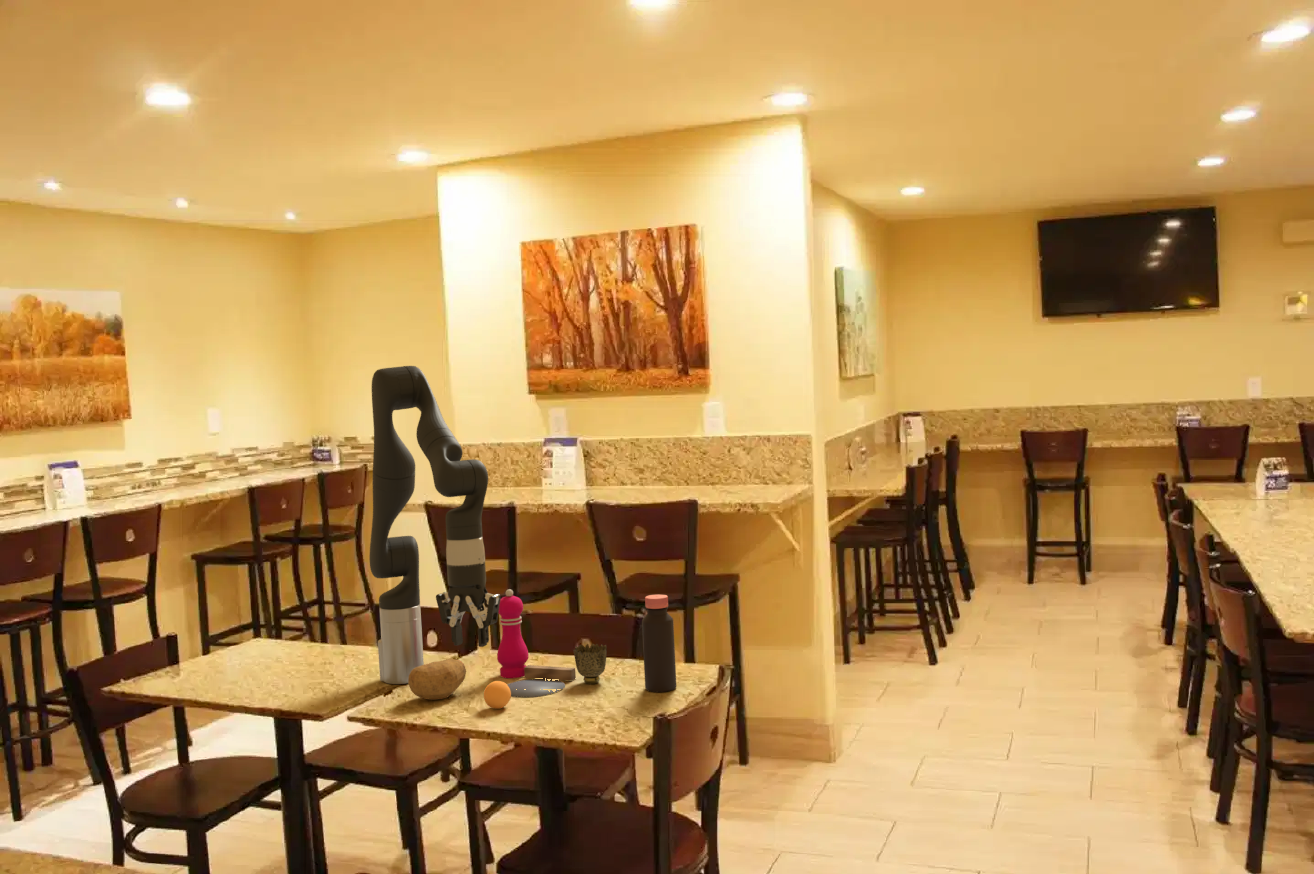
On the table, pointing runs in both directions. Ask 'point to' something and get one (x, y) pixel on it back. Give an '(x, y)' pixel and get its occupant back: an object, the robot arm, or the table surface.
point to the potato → (437, 679)
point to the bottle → (658, 645)
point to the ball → (497, 694)
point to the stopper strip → (549, 672)
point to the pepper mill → (511, 638)
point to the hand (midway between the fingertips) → (470, 644)
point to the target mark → (534, 687)
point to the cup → (590, 662)
